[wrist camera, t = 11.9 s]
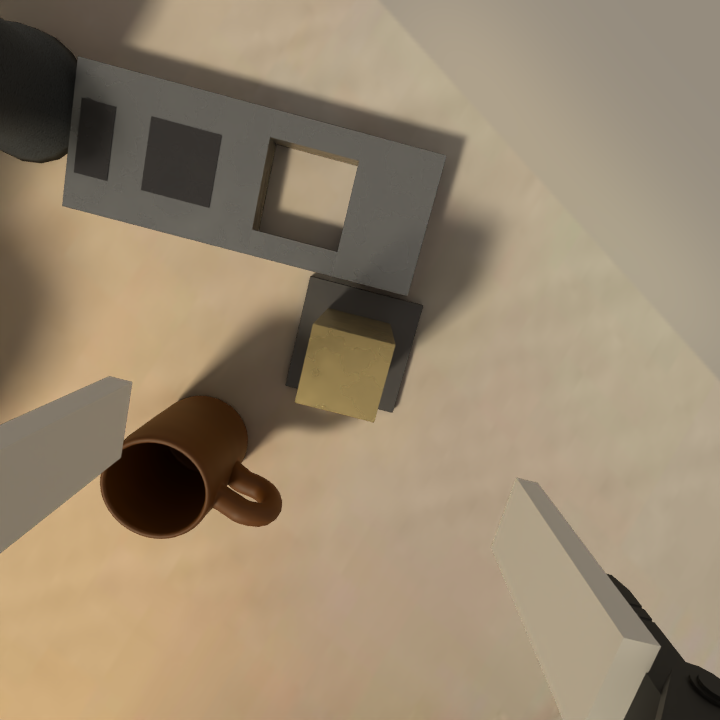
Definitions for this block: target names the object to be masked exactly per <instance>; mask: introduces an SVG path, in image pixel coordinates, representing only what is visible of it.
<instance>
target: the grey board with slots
mask: <svg viewBox="0 0 720 720" xmlns="http://www.w3.org/2000/svg"><path fill="white" fill-rule="evenodd" d="M276 144H278V145H281V146H285V147H289V148H292V149H296V150H300V151H304V152H307V153H311V154H315V155H319V156H322V157H326V158H330V159H334V160H337V161H341V162H345V163H349V164H352V165H356V166H358V168H357V172H356V176H355V180H354V185H353V189H352V193H351V197H350V201H349V206H348V210H347V214H346V218H345V222H344V227H343V231H342V235H341V239H340V243H339V247H338V252H336V251H332V250H328V249H324V248H321V247H317V246H313V245H309V244H305V243H302V242H298V241H294V240H290V239H286V238H283V237H279V236H275V235H271V234H267V233H263V232H260V231H259V228H260V223H261V218H262V213H263V208H264V203H265V198H266V193H267V188H268V182H269V177H270V172H271V167H272V162H273V157H274V152H275V147H276ZM445 159H446V155H443V154H439V153H435V152H431V151H428V150H424V149H420V148H417V147H413V146H409V145H405V144H402V143H398V142H394V141H391V140H387V139H383V138H379V137H376V136H372V135H368V134H365V133H361V132H357V131H354V130H350V129H346V128H342V127H339V126H335V125H331V124H328V123H324V122H320V121H316V120H313V119H309V118H305V117H302V116H298V115H294V114H290V113H287V112H283V111H279V110H276V109H272V108H268V107H265V106H261V105H257V104H253V103H250V102H246V101H242V100H239V99H235V98H231V97H227V96H224V95H220V94H216V93H213V92H209V91H205V90H201V89H198V88H194V87H190V86H187V85H183V84H179V83H176V82H172V81H168V80H164V79H161V78H157V77H153V76H150V75H146V74H142V73H138V72H135V71H131V70H127V69H124V68H120V67H116V66H112V65H109V64H105V63H101V62H98V61H94V60H90V59H87V58H83V57H79V56H78V60H77V70H76V79H75V89H74V98H73V108H72V117H71V127H70V137H69V146H68V156H67V165H66V175H65V184H64V194H63V204H62V206H64V207H68V208H72V209H76V210H80V211H84V212H87V213H91V214H95V215H99V216H103V217H107V218H110V219H114V220H118V221H122V222H126V223H130V224H133V225H137V226H141V227H145V228H149V229H152V230H156V231H160V232H164V233H168V234H172V235H175V236H179V237H183V238H187V239H191V240H195V241H198V242H202V243H206V244H210V245H214V246H218V247H221V248H225V249H229V250H233V251H237V252H240V253H244V254H248V255H252V256H256V257H260V258H263V259H267V260H271V261H275V262H279V263H283V264H286V265H290V266H294V267H298V268H302V269H306V270H309V271H313V272H317V273H321V274H325V275H328V276H332V277H336V278H340V279H344V280H348V281H351V282H355V283H359V284H363V285H367V286H371V287H374V288H378V289H382V290H386V291H390V292H394V293H397V294H401V295H405V296H408V293H409V289H410V285H411V282H412V278H413V275H414V271H415V267H416V264H417V260H418V257H419V253H420V249H421V246H422V242H423V239H424V235H425V231H426V228H427V224H428V221H429V217H430V213H431V210H432V206H433V203H434V199H435V195H436V192H437V188H438V185H439V181H440V177H441V174H442V170H443V167H444V163H445Z"/></svg>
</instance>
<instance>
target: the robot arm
mask: <svg viewBox="0 0 720 720" xmlns="http://www.w3.org/2000/svg"><path fill="white" fill-rule="evenodd" d="M131 388H132V382H131V381H127V380H123V379H119V378H115V377H111V376H109V377H106V378H104V379H102V380H100V381H97V382H95V383H93V384H91V385H88V386H86V387H84V388H82V389H79V390H77V391H75V392H73V393H70V394H68V395H66V396H64V397H61V398H59V399H57V400H55V401H52V402H50V403H48V404H46V405H44V406H41V407H39V408H37V409H35V410H32V411H30V412H28V413H26V414H23V415H21V416H19V417H17V418H14V419H12V420H10V421H8V422H5V423H3V424H1V425H0V553H1V552H3V551H4V550H5V549H6V548H8V547H9V546H10V545H11V544H13V543H14V542H15V541H17V540H18V539H19V538H20V537H22V536H23V535H24V534H25V533H27V532H28V531H29V530H30V529H32V528H33V527H34V526H35V525H37V524H38V523H39V522H40V521H42V520H43V519H44V518H45V517H47V516H48V515H49V514H51V513H52V512H53V511H54V510H56V509H57V508H58V507H59V506H61V505H62V504H63V503H64V502H66V501H67V500H68V499H69V498H71V497H72V496H73V495H74V494H76V493H77V492H78V491H80V490H81V489H82V488H83V487H85V486H86V485H87V484H88V483H90V482H91V481H92V480H93V479H95V478H96V477H97V476H98V475H100V474H101V473H102V472H103V471H105V470H106V469H107V468H109V467H110V466H111V465H112V464H114V463H115V462H116V461H117V460H119V459H120V458H121V454H122V448H123V441H124V434H125V428H126V421H127V414H128V408H129V401H130V394H131ZM491 549H492V552H493V554H494V556H495V559H496V561H497V564H498V566H499V568H500V571H501V573H502V575H503V578H504V580H505V583H506V585H507V587H508V590H509V592H510V595H511V597H512V599H513V602H514V604H515V607H516V609H517V611H518V614H519V616H520V618H521V621H522V623H523V626H524V628H525V630H526V633H527V635H528V638H529V640H530V642H531V645H532V647H533V649H534V652H535V654H536V657H537V659H538V661H539V664H540V666H541V669H542V671H543V673H544V676H545V678H546V680H547V683H548V685H549V688H550V690H551V692H552V695H553V697H554V700H555V702H556V704H557V707H558V709H559V712H560V714H561V716H562V719H563V720H720V679H719V678H718V677H716V676H715V675H714V674H712V673H710V672H708V671H706V670H705V669H703V668H701V667H699V666H696V665H693V664H690V663H687V662H685V661H684V659H683V658H682V657H681V656H680V654H679V653H678V652H677V650H676V649H675V648H674V647H673V645H672V644H671V643H670V642H669V640H668V639H667V638H666V636H665V635H664V634H663V633H662V631H661V630H660V629H659V628H658V626H657V625H656V624H655V623H654V622H652V619H651V617H650V616H649V615H648V613H647V612H646V611H645V610H644V609H642V606H641V605H640V603H639V602H638V601H637V599H636V598H635V597H634V596H633V594H632V593H631V592H630V591H629V590H628V589H627V588H626V587H625V586H624V585H623V584H621V583H620V582H619V581H618V580H617V579H616V578H614V577H613V576H612V575H609V574H606V573H605V572H604V570H603V569H602V568H601V566H600V565H599V564H598V562H597V561H596V560H595V558H594V557H593V556H592V554H591V553H590V552H589V550H588V549H587V548H586V546H585V545H584V544H583V542H582V541H581V540H580V538H579V537H578V536H577V534H576V533H575V532H574V530H573V529H572V528H571V526H570V525H569V524H568V522H567V521H566V520H565V518H564V517H563V516H562V514H561V513H560V512H559V510H558V509H557V508H556V506H555V505H554V504H553V502H552V501H551V500H550V498H549V497H548V496H547V494H546V493H545V492H544V490H543V489H542V488H541V486H540V485H539V484H538V483H536V482H532V481H528V480H524V479H520V478H516V480H515V482H514V485H513V488H512V491H511V493H510V496H509V499H508V502H507V504H506V507H505V510H504V513H503V515H502V518H501V521H500V524H499V526H498V529H497V532H496V535H495V538H494V540H493V543H492V546H491Z"/></svg>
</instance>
